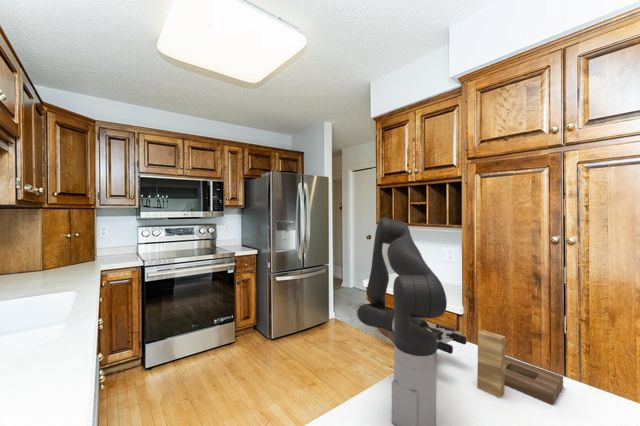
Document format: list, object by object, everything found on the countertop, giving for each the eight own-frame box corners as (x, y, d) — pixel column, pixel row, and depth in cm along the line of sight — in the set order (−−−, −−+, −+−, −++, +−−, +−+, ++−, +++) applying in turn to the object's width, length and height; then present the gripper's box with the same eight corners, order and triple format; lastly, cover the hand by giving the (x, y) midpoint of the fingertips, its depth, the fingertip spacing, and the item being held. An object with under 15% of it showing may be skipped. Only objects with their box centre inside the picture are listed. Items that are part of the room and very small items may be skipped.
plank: (500, 398, 74) (500, 339, 73) (477, 387, 78) (478, 332, 78) (504, 393, 76) (505, 336, 75) (481, 383, 80) (482, 329, 80)
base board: (552, 405, 71) (552, 393, 71) (482, 375, 83) (483, 365, 83) (563, 387, 78) (563, 376, 78) (497, 362, 90) (497, 353, 90)
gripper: (396, 321, 91) (447, 339, 78) (421, 311, 100) (470, 325, 87) (396, 345, 91) (447, 367, 78) (421, 332, 100) (470, 350, 88)
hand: (459, 345), depth 83 cm, fingers open, 8 cm apart
